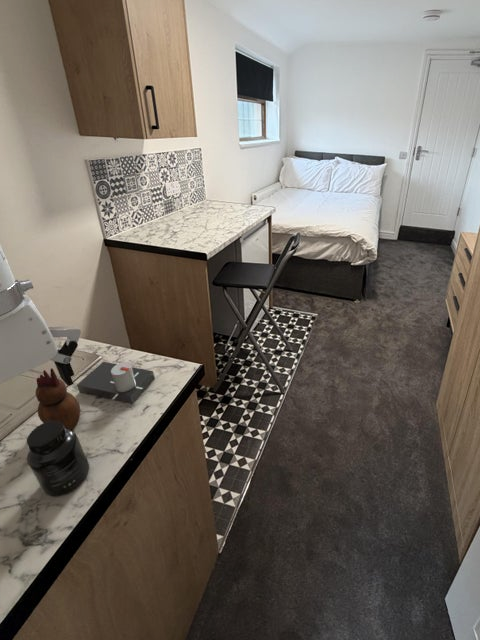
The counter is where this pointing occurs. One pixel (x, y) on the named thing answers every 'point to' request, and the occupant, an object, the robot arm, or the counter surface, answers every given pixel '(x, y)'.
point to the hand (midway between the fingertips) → (31, 400)
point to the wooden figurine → (56, 401)
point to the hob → (104, 385)
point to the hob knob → (123, 377)
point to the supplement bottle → (56, 458)
